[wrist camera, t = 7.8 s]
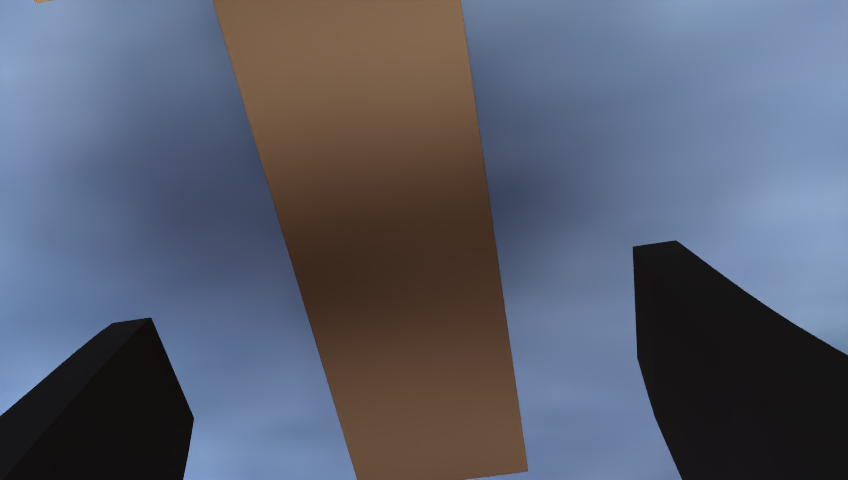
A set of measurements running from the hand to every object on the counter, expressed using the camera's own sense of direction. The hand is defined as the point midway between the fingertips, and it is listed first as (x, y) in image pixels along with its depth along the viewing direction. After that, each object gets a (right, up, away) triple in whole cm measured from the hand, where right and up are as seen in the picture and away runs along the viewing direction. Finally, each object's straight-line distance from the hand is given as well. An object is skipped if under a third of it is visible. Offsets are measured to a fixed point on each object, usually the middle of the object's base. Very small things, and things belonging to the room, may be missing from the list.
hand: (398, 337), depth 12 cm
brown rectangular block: (0, +5, +6) cm, 8 cm away
